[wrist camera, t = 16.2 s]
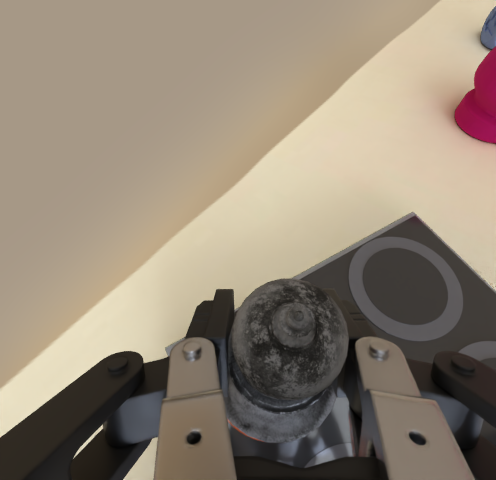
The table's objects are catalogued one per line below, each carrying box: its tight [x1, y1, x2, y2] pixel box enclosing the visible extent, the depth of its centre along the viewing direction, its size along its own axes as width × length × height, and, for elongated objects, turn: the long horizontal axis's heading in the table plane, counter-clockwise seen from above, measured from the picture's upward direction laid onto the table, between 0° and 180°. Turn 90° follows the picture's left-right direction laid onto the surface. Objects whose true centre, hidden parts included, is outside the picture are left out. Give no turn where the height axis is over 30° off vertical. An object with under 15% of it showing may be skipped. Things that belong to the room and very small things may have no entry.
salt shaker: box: [224, 279, 349, 443], centre depth 10 cm, size 6×6×12 cm
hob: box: [165, 212, 496, 468], centre depth 16 cm, size 20×16×2 cm
